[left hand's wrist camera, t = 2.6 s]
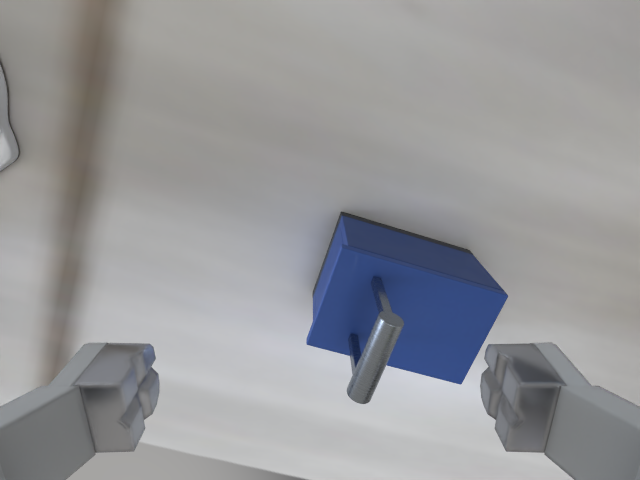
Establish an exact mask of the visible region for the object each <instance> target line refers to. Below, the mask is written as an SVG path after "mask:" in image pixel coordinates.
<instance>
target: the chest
mask: <svg viewBox="0 0 640 480" xmlns="http://www.w3.org/2000/svg"><path fill="white" fill-rule="evenodd" d="M341 244H344V245H347V246H351V247H354V248H357V249H361V250H364V251H368V252H371V253H375V254H378V255H381V256H385V257H388V258H392V259H395V260H399V261H402V262H405V263H409V264H412V265H416V266H419V267H423V268H426V269H429V270H433V271H436V272H440V273H443V274H447V275H450V276H453V277H457V278H460V279H464V280H467V281H471V282H474V283H477V284H481V285H484V286H488V287H491V288H495V289H498V290H501V291H504V290H503V289H502V288H501V287H500V286H499V284H498V283H497V282H496V281H495V280H494V279H493V278H492V276H491V275H490V274H489V273H488V272H487V271H486V269H485V268H484V267H483V266H482V265H481V264H480V263H479V261H478V260H477V259H476V258H475V257H474V256H473V254H472V253H471V252H470V250H467V249H464V248H460V247H457V246H454V245H450V244H447V243H444V242H440V241H437V240H434V239H430V238H427V237H424V236H420V235H417V234H414V233H411V232H407V231H404V230H401V229H397V228H394V227H391V226H387V225H384V224H381V223H377V222H374V221H371V220H367V219H364V218H361V217H357V216H354V215H351V214H347V213H344V212H341V214H340V216H339V219H338V222H337V225H336V228H335V231H334V234H333V236H332V239H331V242H330V245H329V248H328V251H327V254H326V256H325V259H324V262H323V265H322V268H321V271H320V273H319V276H318V279H317V282H316V285H315V288H314V291H313V320H314V317H315V314H316V312H317V309H318V306H319V303H320V301H321V298H322V295H323V292H324V289H325V287H326V284H327V281H328V278H329V276H330V273H331V270H332V267H333V264H334V262H335V259H336V256H337V253H338V251H339V248H340V245H341Z"/></svg>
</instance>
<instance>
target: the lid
mask: <svg viewBox="0 0 640 480" xmlns="http://www.w3.org/2000/svg"><path fill="white" fill-rule="evenodd" d="M507 298H508V295H507V294H506V293H505V292H504V291H501V290H498V289H495V288H491V287H488V286H484V285H481V284H477V283H474V282H471V281H467V280H464V279H460V278H457V277H453V276H450V275H447V274H443V273H440V272H436V271H433V270H429V269H426V268H423V267H419V266H416V265H412V264H409V263H405V262H402V261H399V260H395V259H392V258H388V257H385V256H381V255H378V254H375V253H371V252H368V251H364V250H361V249H357V248H354V247H351V246H347V245H344V244H341V245H340V248H339V251H338V253H337V256H336V259H335V262H334V264H333V267H332V270H331V273H330V276H329V278H328V281H327V284H326V287H325V289H324V292H323V295H322V298H321V301H320V303H319V306H318V309H317V312H316V314H315V317H314V320H313V323H312V326H311V328H310V331H309V334H308V337H307V345H310V346H314V347H318V348H322V349H326V350H330V351H334V352H337V353H341V354H345V355H349V356H350V359H351V366H352V374H353V376H352V378H351V380H350V383H349V385H348V388H347V394H348V396H349V397H350V398H351V399H352V400H353V401H355V402H357V403H360V404H366V403H368V402H369V401H370V400H371V398H372V396H373V393H374V391H375V389H376V387H377V384H378V382H379V380H380V378H381V376H382V373H383V371H384V369H385V367H386V365H388V366H391V367H395V368H399V369H403V370H407V371H411V372H415V373H419V374H422V375H426V376H430V377H434V378H438V379H442V380H446V381H449V382H453V383H457V384H462V382H463V380H464V378H465V376H466V375H467V373H468V371H469V369H470V367H471V365H472V363H473V361H474V359H475V358H476V356H477V354H478V352H479V350H480V348H481V346H482V344H483V343H484V341H485V339H486V337H487V335H488V333H489V331H490V329H491V328H492V326H493V324H494V322H495V320H496V318H497V316H498V314H499V313H500V311H501V309H502V307H503V305H504V303H505V301H506V299H507Z"/></svg>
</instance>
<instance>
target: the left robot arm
mask: <svg viewBox="0 0 640 480" xmlns="http://www.w3.org/2000/svg"><path fill="white" fill-rule="evenodd" d="M18 155H19V150H18V145H17V142H16V139H15V136H14V134H13V131H12V129H11V127H10V124H9V120H8V93H7V86H6V81H5V77H4V73H3V70H2V67H1V64H0V171H1V170H3V169H4V168H6V167H7V166H9V165H10V164H12V163H13V162H14V161H15V160H16V159H17V158H18ZM155 359H156V358H155V353H154V348H153V346H152V345H151V344H139V343H88V344H84V345H83V346H82V348H81V349H80V350H79V351H78V352H77V353H76V354H75V356H74V357H73V358H72V359H71V360H70V361H69V363H68V364H67V365H66V366H65V367H64V368H63V369H62V371H61V372H60V373H59V374H58V375H57V376H56V377H55V379H54V380H53V381H52V382H51V383H50V384H49V385H48V386H40V387H38V388H36V389H34V390H32V391H30V392H28V393H26V394H24V395H22V396H20V397H18V398H17V399H15V400H13V401H11V402H9V403H7V404H5V405H3V406H1V407H0V480H66V479H67V478H68V477H70V476H71V475H72V474H73V473H74V472H75V471H77V470H78V469H79V468H80V467H81V466H83V465H84V464H85V463H86V462H87V461H88V460H90V459H91V458H92V457H93V456H94V455H95V453H96V452H131V451H134V450H135V448H136V446H137V444H138V442H139V440H140V438H141V436H142V434H143V432H144V430H145V424H144V420H145V419H146V418H147V417H149V416H150V415H152V414H153V412H154V409H155V407H156V405H157V401H158V396H159V376H158V373H157V372H156V371H155V370H154V369H153V368H152V367H151V366H152V364H153V363H154V361H155ZM484 359H485V361H486V363H487V364H488V366H489V367H488V368H487V369H486V370H485V371H484V372H483V373H482V377H481V385H480V387H481V398H482V401H483V405H484V407H485V409H486V412H487V414H488V415H490V416H491V417H493V418H494V419H495V420H496V424H495V430H496V432H497V434H498V436H499V438H500V440H501V442H502V444H503V446H504V448H505V450H506V451H507V452H542V453H545V455H546V456H547V457H548V458H549V459H551V460H552V461H553V462H554V463H555V464H556V465H558V466H559V467H560V468H561V469H562V470H564V471H565V472H566V473H567V474H568V475H569V476H571V477H572V478H573V479H574V480H640V407H639V406H637V405H635V404H633V403H631V402H629V401H627V400H625V399H623V398H621V397H619V396H617V395H616V394H614V393H612V392H610V391H608V390H606V389H604V388H602V387H600V386H592V385H591V384H590V383H589V382H588V381H587V380H586V379H585V377H584V376H583V375H582V374H581V373H580V372H579V371H578V369H577V368H576V367H575V366H574V365H573V364H572V363H571V361H570V360H569V359H568V358H567V357H566V356H565V354H564V353H563V352H562V351H561V350H560V349H559V348H558V346H557V345H555V344H553V343H530V344H489V345H488V347H487V349H486V352H485V358H484Z"/></svg>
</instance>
